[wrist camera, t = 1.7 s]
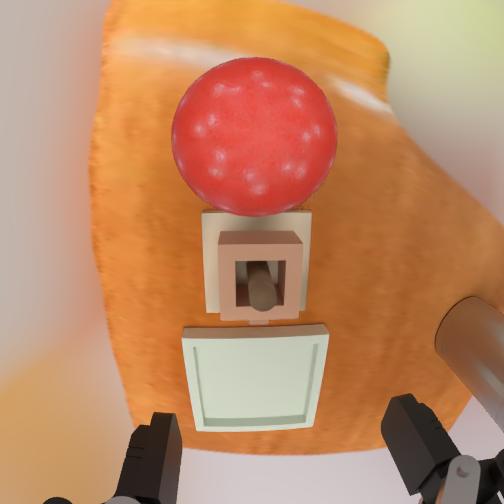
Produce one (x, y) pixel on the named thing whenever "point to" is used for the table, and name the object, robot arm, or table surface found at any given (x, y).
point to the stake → (252, 272)
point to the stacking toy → (254, 137)
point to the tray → (254, 376)
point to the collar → (259, 249)
